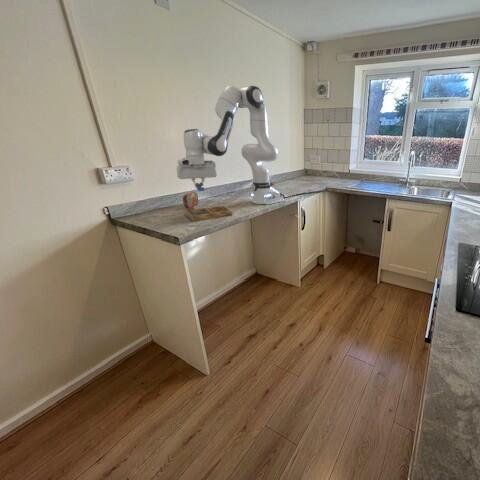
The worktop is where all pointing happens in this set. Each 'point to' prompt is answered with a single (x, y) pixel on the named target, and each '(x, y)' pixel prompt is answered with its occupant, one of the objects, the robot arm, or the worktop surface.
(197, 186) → the blue spoon
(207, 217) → the cutlery tray
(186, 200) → the tin
